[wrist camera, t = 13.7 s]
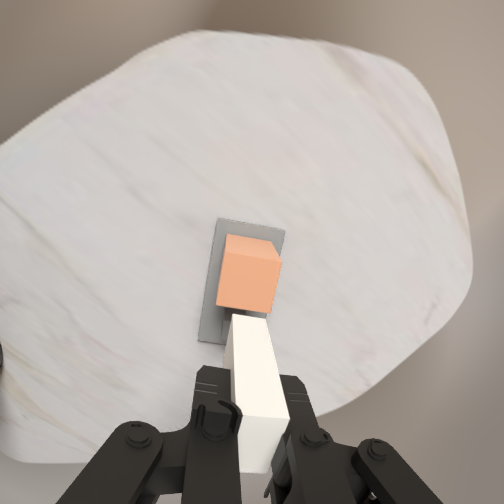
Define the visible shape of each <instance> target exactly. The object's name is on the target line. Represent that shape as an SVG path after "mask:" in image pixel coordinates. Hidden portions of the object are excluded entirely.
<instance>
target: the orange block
mask: <svg viewBox="0 0 504 504" xmlns="http://www.w3.org/2000/svg"><path fill="white" fill-rule="evenodd" d="M281 265H282V260H281V259H280V257H279V255H278V253H277V251H276V249H275V248H274V246H273V244H272V242H271V241H266V240H260V239H255V238H249V237H243V236H238V235H232V234H227V235H226V241H225V247H224V252H223V258H222V263H221V269H220V275H219V283H218V291H217V300H216V305H219V306H225V307H231V308H237V309H244V310H250V311H257V312H264V313H270V312H271V308H272V304H273V300H274V295H275V291H276V287H277V282H278V278H279V273H280V269H281Z"/></svg>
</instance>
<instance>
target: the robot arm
mask: <svg viewBox="0 0 504 504" xmlns="http://www.w3.org/2000/svg"><path fill="white" fill-rule="evenodd" d="M1 364H2V350H1V346H0V367H1ZM270 466H272V472H273V476H272V478H271V480H270V482H269V484H268V486H267V488H266V490H265V492H264V498H267V497H268V495H269V493H270V495H271V503H272V504H443V503H442V502H441V501H440V499H438V497H437V496H436V495H435V494H434V493H433V492H432V491H431V490H430V488H428V486H427V485H426V484H425V483H424V482H423V481H422V480H421V479H420V477H419V476H418V475H417V474H416V473H415V472H414V471H413V469H412V468H411V467H410V466H409V465H408V464H407V463H406V462H405V460H404V459H403V458H402V457H401V456H400V455H399V454H398V453H397V451H396V450H395V449H394V448H393V447H392V446H391V445H389V444H388V443H387V442H384V441H382V440H380V439H374V438H372V439H366V440H364V441H362V442H361V443H360V445H359V446H358V447H357V448H356V447H352V446H347V445H342V444H338V443H335V442H334V441H333V439H332V437H331V436H330V434H329V433H328V432H326V431H325V430H324V429H322V428H319V426H318V423H317V420H316V417H315V414H314V411H313V408H312V405H311V403H310V400H309V397H308V395H307V391H306V388H305V385H304V384H303V383H302V382H301V380H300V379H299V378H298V377H297V376H290V375H279V372H278V368H277V364H276V360H275V356H274V352H273V348H272V344H271V340H270V336H269V332H268V327H267V323H266V319H263V318H257V317H250V316H244V315H238V314H232V319H231V324H230V329H229V334H228V339H227V344H226V349H225V353H224V358H223V364H222V368H218V367H211V366H205V365H204V366H203V367H202V368H201V369H200V370H199V371H198V372H197V376H196V383H195V389H194V396H193V403H192V411H191V419H190V422H189V423H188V425H187V426H186V427H184V428H183V429H181V430H178V431H174V432H165V433H160V432H159V431H158V430H157V429H156V428H155V427H153V426H152V425H150V424H148V423H144V422H140V421H129V422H126V423H123V424H121V425H120V426H118V427H117V428H116V429H115V430H114V432H113V433H112V434H111V435H110V437H109V438H108V439H107V440H106V442H105V443H104V444H103V445H102V447H101V448H100V449H99V450H98V452H97V453H96V454H95V455H94V457H93V458H92V459H91V460H90V462H89V463H88V464H87V465H86V467H85V468H84V469H83V470H82V472H81V473H80V474H79V476H77V478H76V479H75V480H74V482H73V483H72V484H71V485H70V486H69V488H68V489H67V490H66V492H65V493H64V494H63V495H62V496H61V498H60V499H59V500H58V502H57V503H56V504H155V503H156V502H157V500H158V498H159V496H160V495H163V494H174V493H182V498H181V504H242V500H241V485H240V472H248V473H266V474H267V473H268V470H269V468H270ZM372 492H373V493H374V495H375V496H376V497H377V498H375V497H374V496H373V495H372V494H371V493H372Z"/></svg>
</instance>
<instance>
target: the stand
mask: <svg viewBox="0 0 504 504" xmlns="http://www.w3.org/2000/svg"><path fill="white" fill-rule="evenodd" d="M227 234H232V235H238V236H243V237H249V238H255V239H260V240H266V241H271V242H272V244H273V246H274V248H275V249H276V251H277V253H278V255H279V257H280V254H281V249H282V244H283V240H284V235H285V230H281V229H276V228H271V227H265V226H260V225H255V224H249V223H244V222H238V221H233V220H227V219H222V218H218V220H217V225H216V231H215V237H214V242H213V248H212V254H211V260H210V266H209V272H208V278H207V284H206V290H205V297H204V303H203V309H202V316H201V323H200V329H199V336H198V340H200V341H206V342H212V343H219V344H225V345H226V344H227V339H228V334H229V329H230V324H231V319H232V314H238V315H244V316H250V317H257V318H263V319H266V315H267V313H264V312H257V311H250V310H244V309H237V308H231V307H225V306H219V305H216V300H217V291H218V283H219V275H220V269H221V263H222V258H223V252H224V247H225V241H226V235H227Z"/></svg>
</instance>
